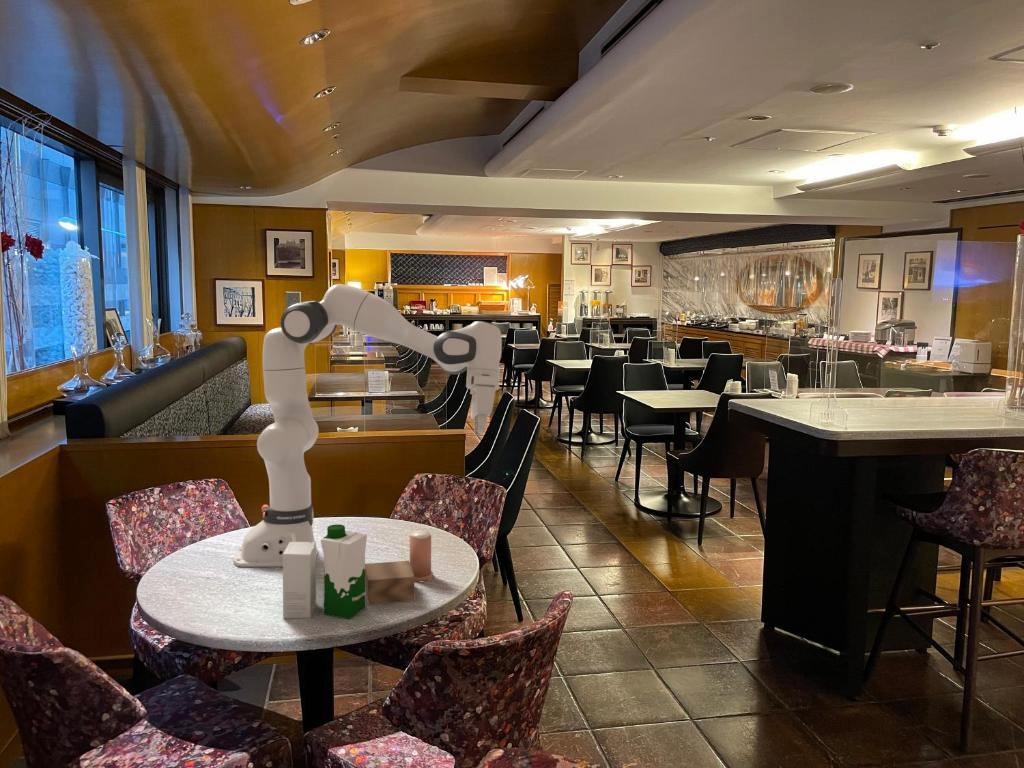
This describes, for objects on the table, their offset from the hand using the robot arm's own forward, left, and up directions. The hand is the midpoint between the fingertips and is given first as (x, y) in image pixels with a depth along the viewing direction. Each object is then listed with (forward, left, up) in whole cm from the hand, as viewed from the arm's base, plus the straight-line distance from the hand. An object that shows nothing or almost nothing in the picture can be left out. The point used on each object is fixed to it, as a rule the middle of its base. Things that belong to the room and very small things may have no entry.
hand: (479, 434), depth 197 cm
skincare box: (-46, -17, -37) cm, 61 cm away
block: (-25, -11, -37) cm, 46 cm away
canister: (-16, -2, -37) cm, 40 cm away
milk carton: (-36, -19, -37) cm, 55 cm away
